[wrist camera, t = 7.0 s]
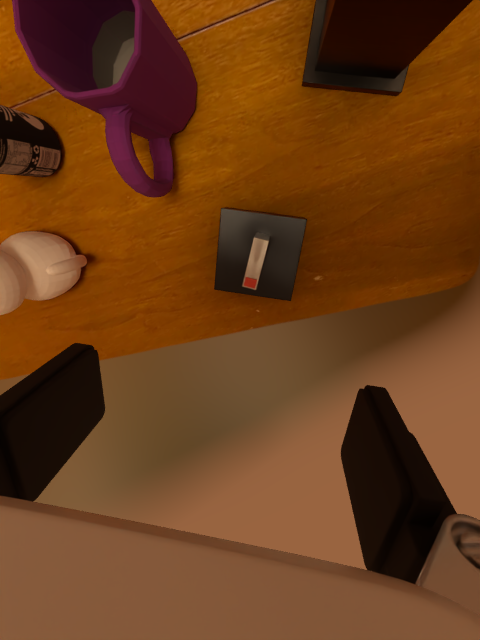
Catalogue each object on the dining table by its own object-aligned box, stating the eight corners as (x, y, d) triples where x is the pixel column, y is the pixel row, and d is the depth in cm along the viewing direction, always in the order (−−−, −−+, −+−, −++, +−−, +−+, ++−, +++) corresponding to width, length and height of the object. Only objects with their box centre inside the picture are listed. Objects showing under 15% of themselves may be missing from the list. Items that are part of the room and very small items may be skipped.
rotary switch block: (304, 217, 36) (307, 219, 34) (289, 294, 40) (290, 301, 38) (225, 207, 37) (221, 207, 34) (218, 283, 41) (214, 289, 38)
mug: (192, 31, 31) (122, -102, 17) (211, 193, 36) (172, 191, 23) (110, 48, 32) (-15, -64, 18) (142, 200, 38) (65, 203, 24)
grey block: (256, 232, 35) (253, 237, 30) (270, 235, 35) (268, 241, 30) (245, 276, 37) (241, 287, 33) (258, 279, 37) (255, 290, 33)
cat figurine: (11, 236, 42) (-119, 256, 28) (88, 219, 40) (-13, 231, 26) (38, 295, 45) (-66, 339, 31) (111, 282, 43) (32, 323, 29)
